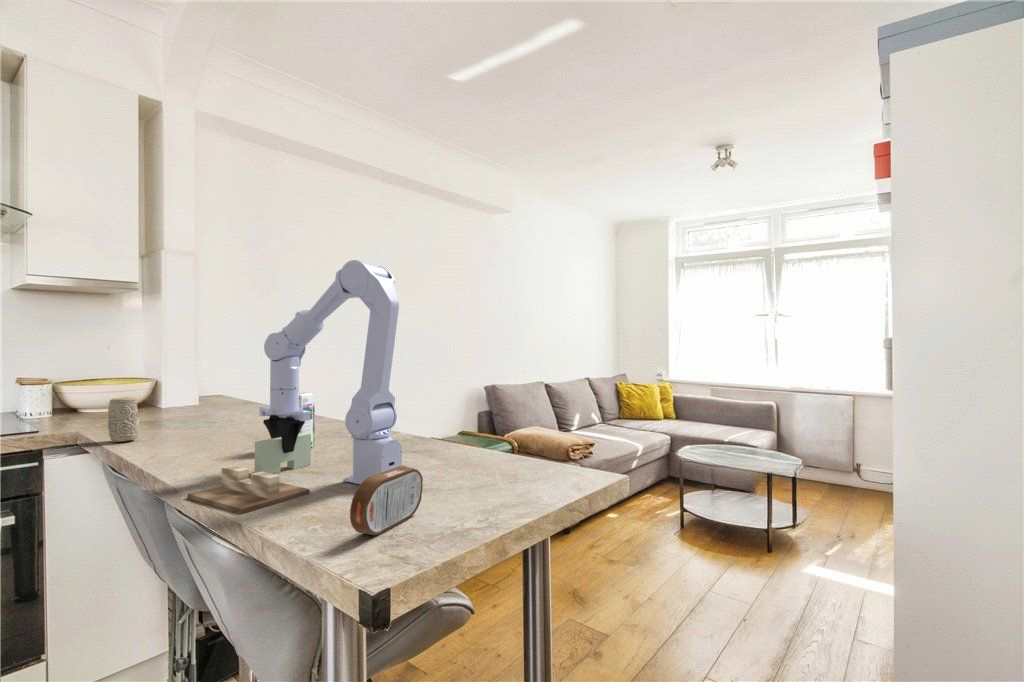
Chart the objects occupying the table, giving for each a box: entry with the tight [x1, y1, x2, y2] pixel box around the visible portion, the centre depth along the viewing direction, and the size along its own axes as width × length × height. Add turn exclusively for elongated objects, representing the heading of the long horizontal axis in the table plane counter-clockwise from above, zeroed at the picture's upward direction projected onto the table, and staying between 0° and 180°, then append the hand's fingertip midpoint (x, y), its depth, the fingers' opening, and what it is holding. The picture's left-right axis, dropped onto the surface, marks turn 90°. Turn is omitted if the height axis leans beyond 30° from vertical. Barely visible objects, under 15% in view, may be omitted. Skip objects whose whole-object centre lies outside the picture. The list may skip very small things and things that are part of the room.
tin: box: [349, 464, 424, 536], centre depth 77 cm, size 15×3×8 cm, turn 156°
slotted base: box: [186, 464, 311, 515], centre depth 91 cm, size 16×13×4 cm
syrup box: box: [299, 391, 316, 448], centre depth 131 cm, size 6×6×14 cm
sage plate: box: [254, 433, 312, 475], centre depth 110 cm, size 12×2×7 cm, turn 150°
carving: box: [107, 396, 140, 443], centre depth 139 cm, size 6×8×12 cm
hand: (283, 451), depth 110 cm, fingers closed on sage plate, 2 cm apart
